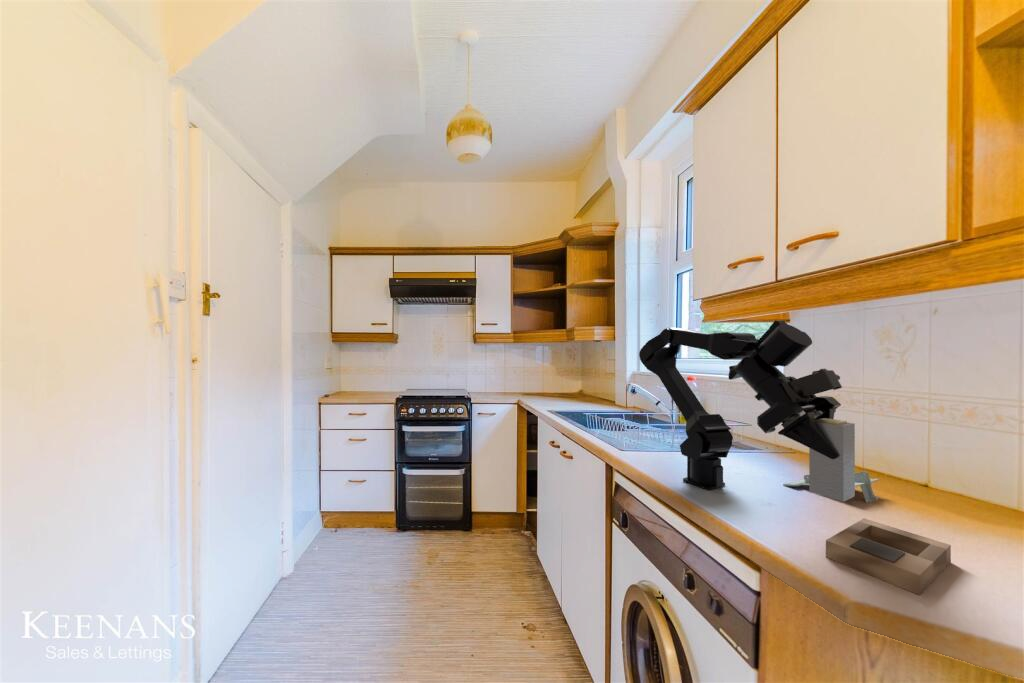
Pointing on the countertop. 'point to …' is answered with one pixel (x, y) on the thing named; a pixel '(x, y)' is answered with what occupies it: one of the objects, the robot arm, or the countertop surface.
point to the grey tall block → (834, 461)
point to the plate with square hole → (890, 554)
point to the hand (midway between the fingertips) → (842, 455)
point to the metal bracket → (859, 481)
